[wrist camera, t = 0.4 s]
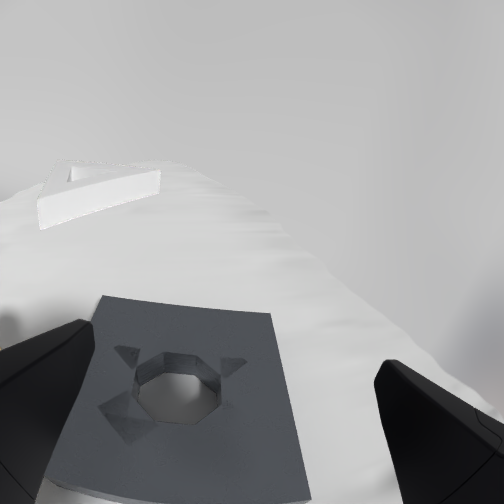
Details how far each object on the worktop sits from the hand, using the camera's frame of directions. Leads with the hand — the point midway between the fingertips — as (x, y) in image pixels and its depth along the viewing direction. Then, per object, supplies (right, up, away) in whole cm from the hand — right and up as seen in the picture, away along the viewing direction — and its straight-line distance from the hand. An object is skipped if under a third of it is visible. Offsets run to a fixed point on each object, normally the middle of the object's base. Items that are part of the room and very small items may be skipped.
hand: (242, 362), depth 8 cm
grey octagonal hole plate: (-6, -10, +14) cm, 19 cm away
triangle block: (-36, +12, +45) cm, 60 cm away
